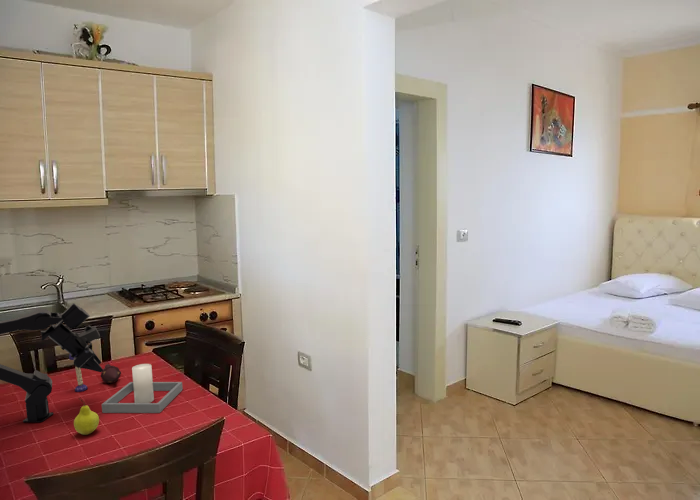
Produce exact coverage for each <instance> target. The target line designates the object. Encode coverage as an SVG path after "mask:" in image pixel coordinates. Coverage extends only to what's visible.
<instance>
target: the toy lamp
mask: <svg viewBox="0 0 700 500" xmlns="http://www.w3.org/2000/svg"><path fill="white" fill-rule="evenodd" d="M68 359H69V360H70V361H74V358H72V357H71V354H69V355H68ZM74 368H75V374H76V381H77V386H75V388H74V392H76V393H80V392H81V393H82V392H84V391H86V390H88V386H87V384H84V381H83V377H82V375H83V374H82V370H81V369H82V368H77V367H76V366H75V367H74Z"/></svg>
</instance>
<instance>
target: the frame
mask: <svg viewBox="0 0 700 500" xmlns="http://www.w3.org/2000/svg"><path fill="white" fill-rule="evenodd" d="M183 387H184V386H183V381H153V392H161V391H162V392H167V391H168V392H167V393H166V394H165V395H164V396H163V397H162V398H161V399H160V400H159V401H158V402H156V403H155V402H153V403H152V402H150V403H135V402H120V401H122V399H124V398H125V397H126V396H128V395H129V394H130V393H131V392H134V387H133V381H130V382H128V383H127V384H126V385H124V386H122V388H121V389H119V390H118V391H117V392H116V393H114V394H112V396H110V397H109V398H107V400H105V401H104V402H103V403H101V412H102V414H104V413H105V414H129V413H130V414H160V413H161V412H162V411H163V410H164V409H165V408H166V407H168V405H169V404H171V402H172V401H173V400H174V399H176V397H177V396H178V395H179V394H180V393H181V392H182V391H183V389H184V388H183Z"/></svg>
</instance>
